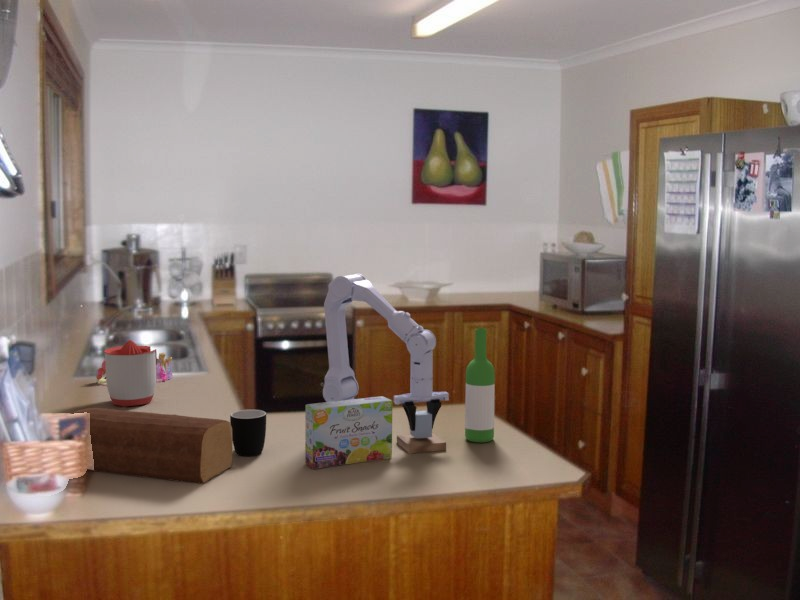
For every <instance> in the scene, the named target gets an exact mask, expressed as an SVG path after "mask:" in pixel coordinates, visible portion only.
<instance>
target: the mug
mask: <svg viewBox="0 0 800 600" xmlns="http://www.w3.org/2000/svg"><path fill="white" fill-rule="evenodd" d="M229 416H230V417H229V420H230V421H229V422H230V424H231V427H232V440H233V449H234V452H235V453H236V454H237V455H238V456H241V457H255V456H258V455H260V454H262V453H263V451H264V446H265V442H266V441H265V440H266V432H267V412H266V411H264V410H261V409H242V410H241V409H240V410H237V411H233V412H231V413H230V415H229Z"/></svg>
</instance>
